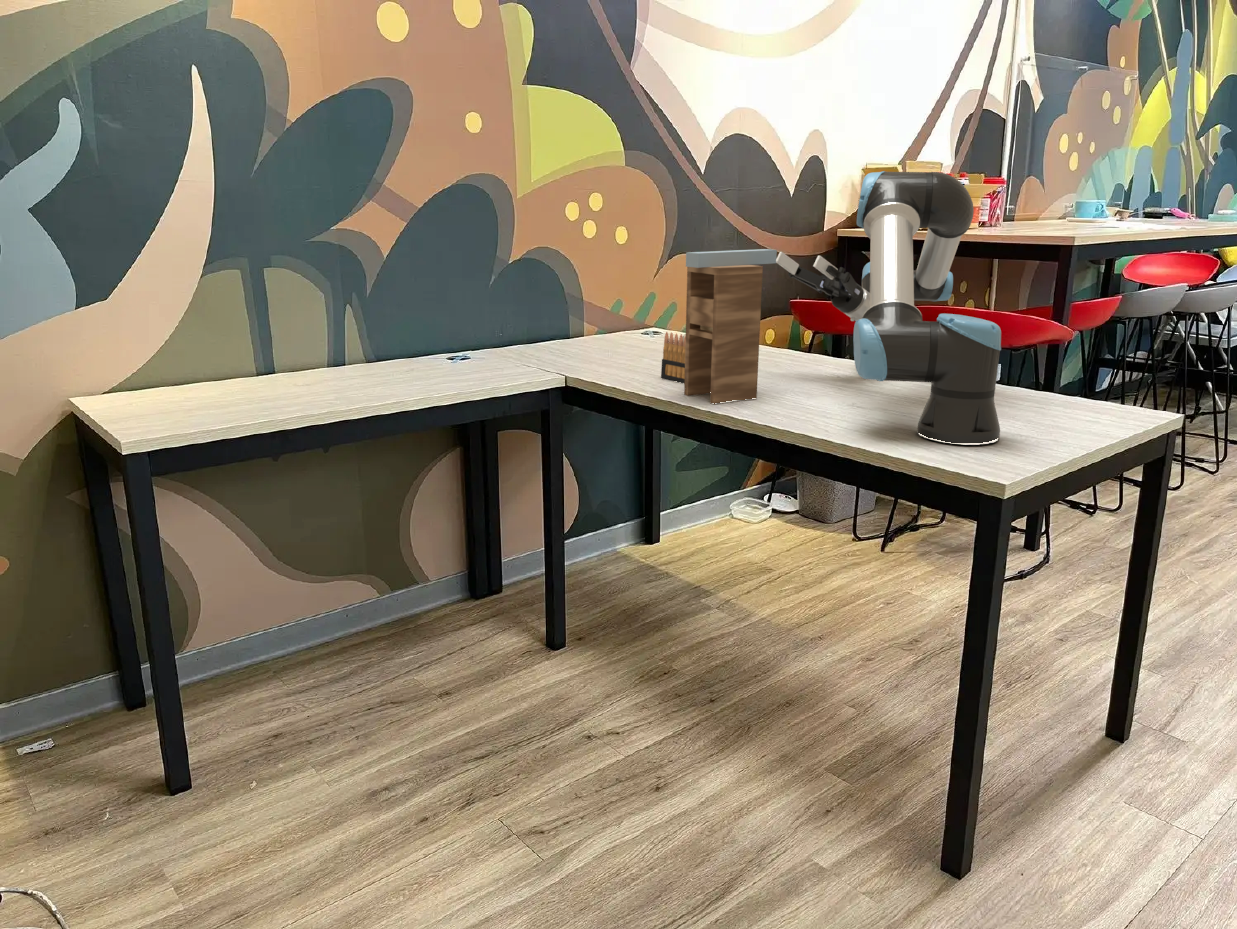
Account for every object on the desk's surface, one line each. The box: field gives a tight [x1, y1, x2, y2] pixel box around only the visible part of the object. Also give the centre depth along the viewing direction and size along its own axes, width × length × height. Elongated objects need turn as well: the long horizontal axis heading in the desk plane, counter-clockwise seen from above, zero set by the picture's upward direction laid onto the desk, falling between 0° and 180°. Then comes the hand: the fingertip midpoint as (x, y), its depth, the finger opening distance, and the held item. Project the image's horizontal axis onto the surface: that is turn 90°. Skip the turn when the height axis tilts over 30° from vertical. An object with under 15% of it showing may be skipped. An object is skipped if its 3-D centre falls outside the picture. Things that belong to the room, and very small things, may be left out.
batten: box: [685, 248, 778, 268], centre depth 210 cm, size 4×24×3 cm, turn 127°
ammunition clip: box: [660, 331, 686, 384], centre depth 233 cm, size 11×2×12 cm, turn 39°
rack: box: [683, 264, 764, 405], centre depth 212 cm, size 12×12×32 cm
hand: (796, 258), depth 218 cm, fingers open, 13 cm apart
